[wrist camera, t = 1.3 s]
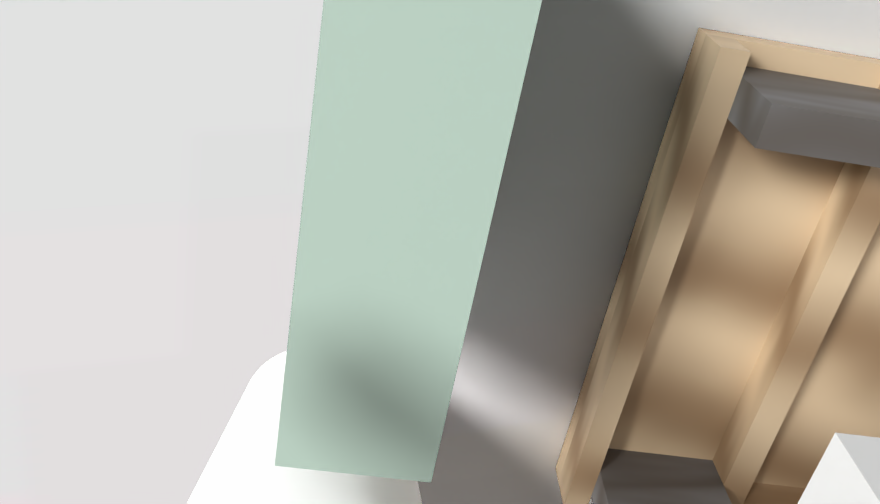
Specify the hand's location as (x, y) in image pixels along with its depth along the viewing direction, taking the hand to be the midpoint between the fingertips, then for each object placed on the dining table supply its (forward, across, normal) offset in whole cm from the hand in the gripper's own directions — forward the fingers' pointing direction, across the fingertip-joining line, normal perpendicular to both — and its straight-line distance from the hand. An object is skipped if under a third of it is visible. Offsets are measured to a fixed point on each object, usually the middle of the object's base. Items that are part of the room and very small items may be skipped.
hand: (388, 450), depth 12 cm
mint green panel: (+18, 0, 0) cm, 19 cm away
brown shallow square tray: (+18, +20, -7) cm, 28 cm away
